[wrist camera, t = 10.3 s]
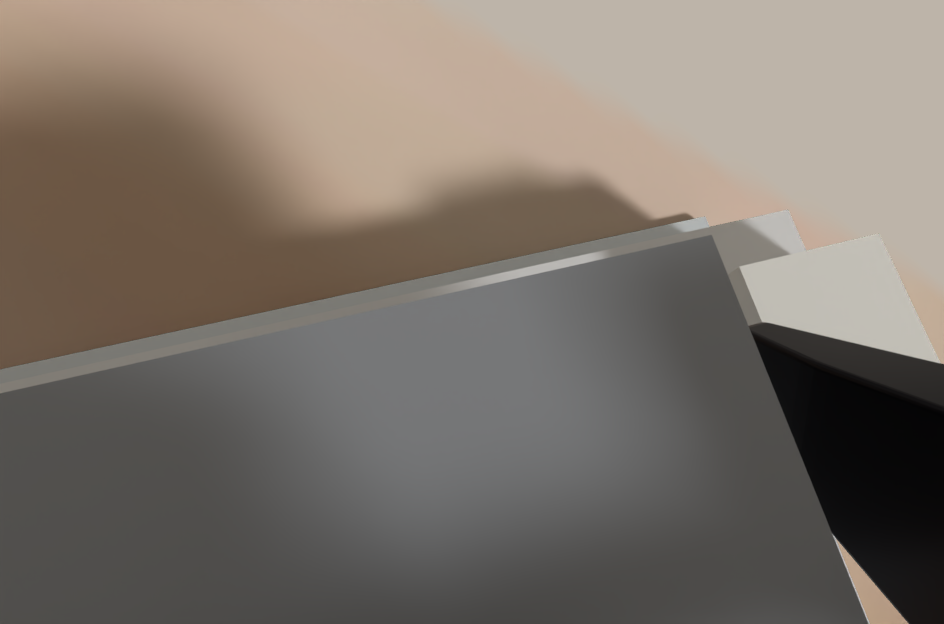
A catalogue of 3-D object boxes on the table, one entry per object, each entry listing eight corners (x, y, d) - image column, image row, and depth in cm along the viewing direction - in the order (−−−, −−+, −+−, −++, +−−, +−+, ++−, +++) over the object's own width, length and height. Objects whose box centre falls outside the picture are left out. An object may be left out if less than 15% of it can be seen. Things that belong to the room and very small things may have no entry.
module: (541, 619, 15) (924, 763, 5) (274, 709, 14) (31, 1155, 4) (488, 435, 16) (712, 234, 6) (235, 504, 15) (-37, 400, 5)
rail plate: (893, 704, 16) (1133, 772, 11) (-412, 1242, 11) (-1067, 1827, 6) (699, 221, 19) (818, 105, 14) (-383, 457, 14) (-793, 406, 9)
